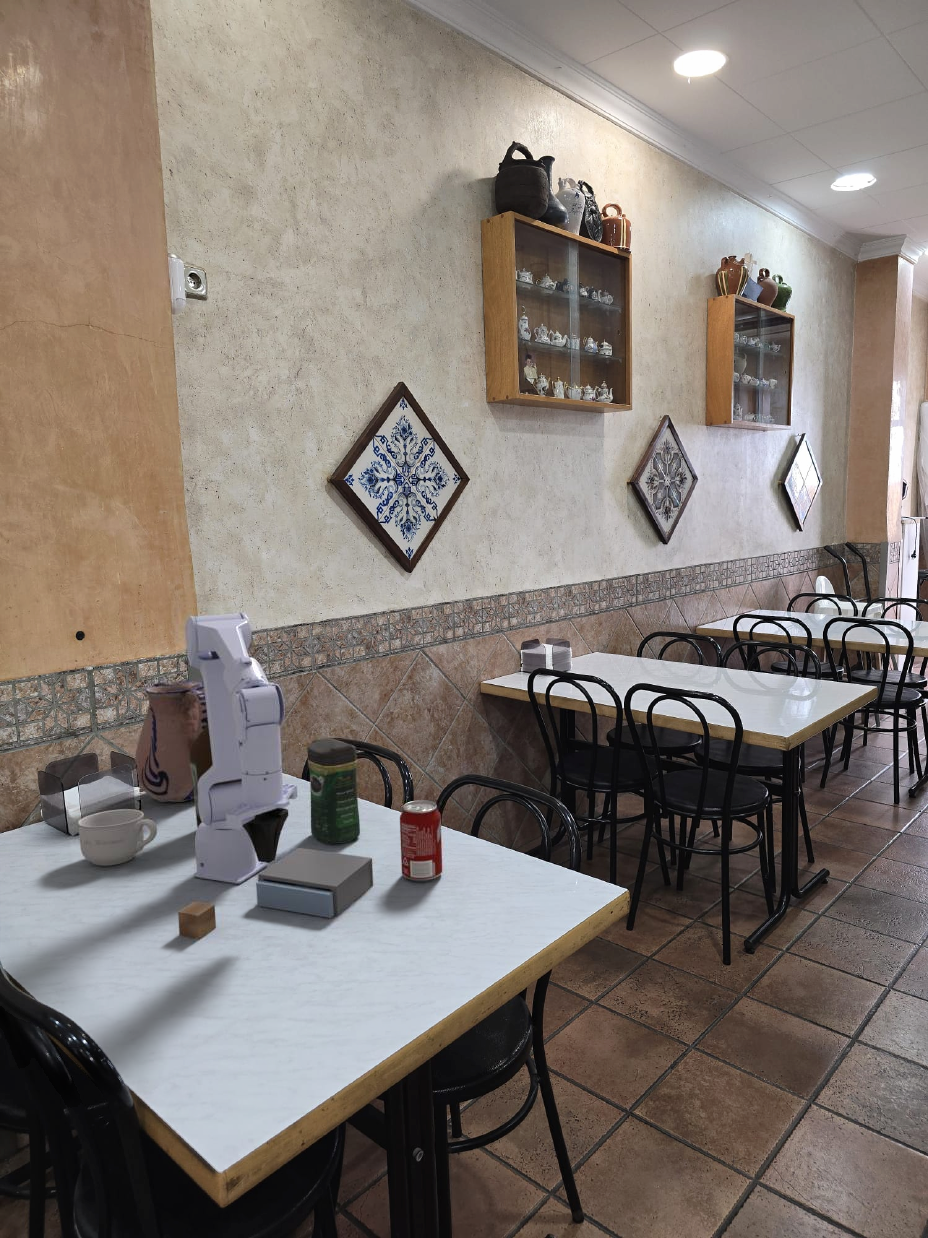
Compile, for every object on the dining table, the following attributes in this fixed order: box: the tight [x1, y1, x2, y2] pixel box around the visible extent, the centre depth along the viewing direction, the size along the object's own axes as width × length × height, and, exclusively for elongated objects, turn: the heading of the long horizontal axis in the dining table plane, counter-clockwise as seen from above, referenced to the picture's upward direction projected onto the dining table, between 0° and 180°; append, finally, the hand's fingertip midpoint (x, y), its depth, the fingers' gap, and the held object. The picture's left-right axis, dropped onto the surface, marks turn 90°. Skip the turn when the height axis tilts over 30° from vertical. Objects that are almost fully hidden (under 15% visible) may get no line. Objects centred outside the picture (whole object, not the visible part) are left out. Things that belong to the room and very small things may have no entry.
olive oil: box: [190, 716, 242, 830], centre depth 159 cm, size 11×11×25 cm
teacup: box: [77, 808, 158, 867], centre depth 146 cm, size 14×11×8 cm
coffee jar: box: [307, 737, 361, 845], centre depth 155 cm, size 10×8×19 cm
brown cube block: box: [177, 901, 217, 940], centre depth 119 cm, size 4×4×4 cm
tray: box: [255, 880, 335, 919], centre depth 130 cm, size 13×11×4 cm
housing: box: [257, 847, 374, 917], centre depth 131 cm, size 14×11×5 cm
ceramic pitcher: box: [134, 680, 208, 803], centre depth 180 cm, size 18×21×25 cm
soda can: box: [399, 799, 443, 883], centre depth 136 cm, size 7×7×12 cm
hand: (266, 860), depth 120 cm, fingers closed
